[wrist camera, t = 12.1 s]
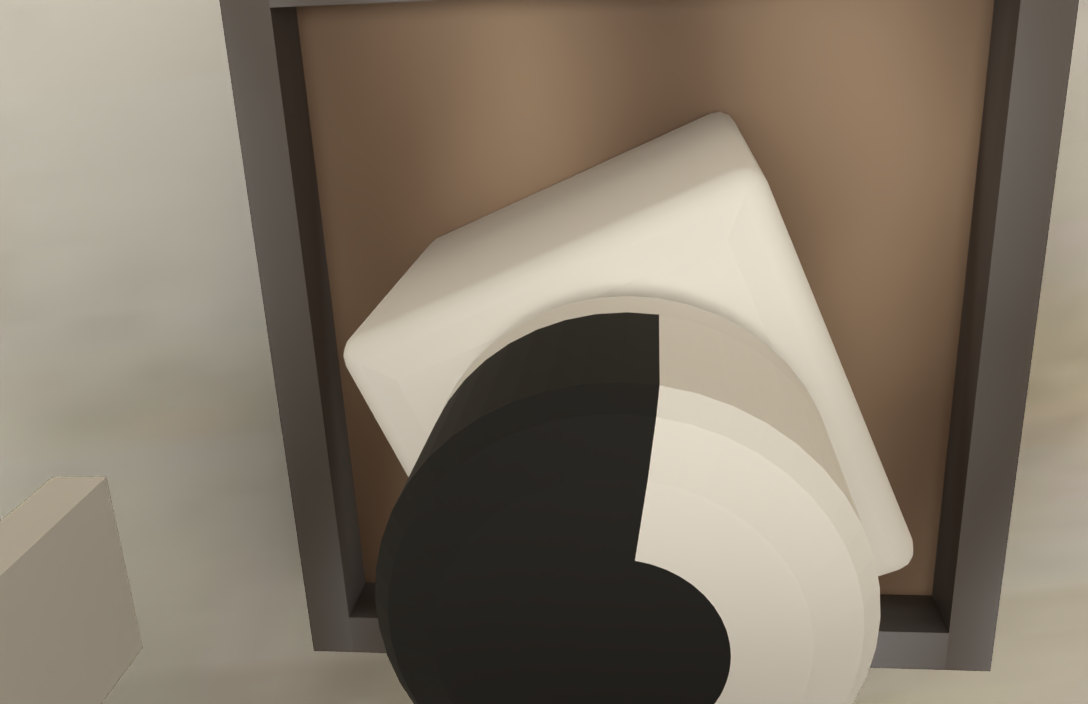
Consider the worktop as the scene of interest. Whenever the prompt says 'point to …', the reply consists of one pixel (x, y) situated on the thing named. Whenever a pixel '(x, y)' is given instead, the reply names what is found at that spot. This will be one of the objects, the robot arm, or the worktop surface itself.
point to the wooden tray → (623, 124)
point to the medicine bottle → (626, 450)
